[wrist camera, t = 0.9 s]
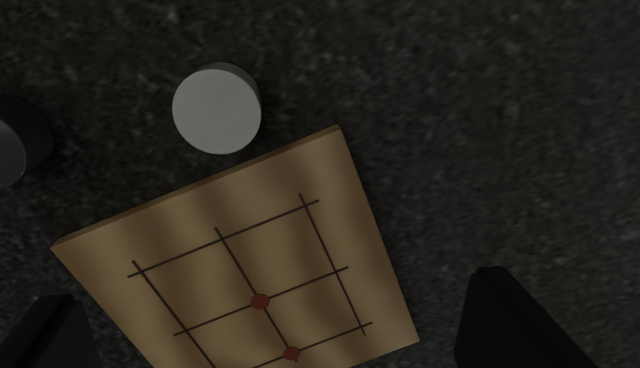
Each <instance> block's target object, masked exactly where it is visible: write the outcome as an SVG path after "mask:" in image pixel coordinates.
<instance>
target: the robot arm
mask: <svg viewBox="0 0 640 368" xmlns="http://www.w3.org/2000/svg"><path fill="white" fill-rule="evenodd" d="M454 358H455V362H456V364H457V366H458V368H598V367H597V366H596V365H595V364H594V363H593V361H592V360H591V359H590V358H589V357H588V356H587V355H586V354H585V353H584V352H583V351H582V350H581V349H580V348H579V346H578V345H577V344H576V343H575V342H574V341H573V340H572V339H571V338H570V337H569V336H568V335H567V334H566V333H565V331H564V330H563V329H562V328H561V327H560V326H559V325H558V324H557V323H556V322H555V321H554V320H553V319H552V318H551V316H550V315H549V314H548V313H547V312H546V311H545V310H544V309H543V308H542V307H541V306H540V305H539V304H538V303H537V301H536V300H535V299H534V298H533V297H532V296H531V295H530V294H529V293H528V292H527V291H526V290H525V289H524V288H523V286H522V285H521V284H520V283H519V282H518V281H517V280H516V279H515V278H514V277H513V276H512V275H511V274H510V273H509V271H508V270H507V269H505V268H504V267H502V266H494V267H481V268H478V269H477V270H476V273H475V274H472V275H471V277H470V280H469V285H468V289H467V293H466V298H465V302H464V307H463V311H462V315H461V320H460V324H459V329H458V333H457V338H456V342H455V346H454ZM0 368H103V367H102V364H101V361H100V357H99V354H98V351H97V348H96V344H95V341H94V338H93V334H92V331H91V328H90V324H89V321H88V318H87V315H86V311H85V308H84V305H83V303H82V301H81V300H75V297H74V296H73V295H71V294H64V295H48V296H42V297H39V298H38V299H37V300H36V301H35V303H34V304H33V305H32V306H31V308H30V309H29V310H28V311H27V313H26V314H25V315H24V316H23V318H22V319H21V320H20V321H19V323H18V324H17V325H16V326H15V327H14V329H13V330H12V331H11V332H10V334H9V335H8V336H7V337H6V339H5V340H4V341H3V342H2V344H1V345H0Z"/></svg>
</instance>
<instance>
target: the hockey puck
mask: <svg viewBox="0 0 640 368" xmlns="http://www.w3.org/2000/svg"><path fill="white" fill-rule="evenodd" d="M53 148H54V135H53V131H52V128H51V126H50V124H49V123H48V121H47V119H46V118H45V117H44V116H43V114H42V113H41V112H40V111H39V110H38V109H36V108H35V107H34V106H33V105H31V104H29V103H28V102H26V101H24V100H22V99H20V98H17V97H14V96H11V95H6V94H0V189H3V188H6V187H9V186H11V185H13V184H14V183H16V182H17V181H19V180H20V179H21V178H23V177H24V176H26V175H27V174H29V173H30V172H32V171H33V170H35V169H36V168H38V167H39V166H41V165H42V164H43V163H45V162H46V161H47V160H48V159H49V157H50V156H51V154H52V152H53Z"/></svg>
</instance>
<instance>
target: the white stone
mask: <svg viewBox="0 0 640 368" xmlns="http://www.w3.org/2000/svg"><path fill="white" fill-rule="evenodd" d="M261 109H262V99H261V94H260V91H259V88H258V86H257V84H256V82H255V81H254V79H253V78H252V77H251V76H250V75H249V74H248V73H247V72H246V71H244V70H243V69H241V68H240V67H238V66H236V65H233V64H230V63H224V62H215V63H209V64H207V65H204V66H202V67H200V68H199V69H197V70H196V71H195V72H193V73H192V74H191V75H190V76H189V77H187V78H186V79H185V80H184V81H183V82H182V83H181V84H180V86H179V87H178V89H177V91H176V93H175V95H174V99H173V105H172V112H173V118H174V121H175V124H176V127H177V129H178V130H179V132H180V133H181V135H182V136H183V137H184V138H185V140H187V141H188V142H189V143H190V144H191V145H193V146H194V147H196V148H198V149H199V150H202V151H204V152H208V153H212V154H228V153H232V152H235V151H238V150H240V149H242V148H243V147H245V146H246V145H247V144H249V143H250V142H251V140H252V139H253V138H254V137H255V135H256V133H257V131H258V129H259V126H260V121H261Z"/></svg>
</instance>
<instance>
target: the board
mask: <svg viewBox="0 0 640 368" xmlns="http://www.w3.org/2000/svg"><path fill="white" fill-rule="evenodd" d="M50 249H51V250H52V251H53V252H54V253H55V255H56V256H57V257H58V258H59V259H60V260H61V261H62V263H63V264H64V265H65V266H66V267H67V268H68V270H69V271H70V272H71V273H72V274H73V275H74V276H75V278H76V279H77V280H78V281H79V282H80V283H81V284H82V286H83V287H84V288H85V289H86V290H87V291H88V292H89V294H90V295H91V296H92V297H93V298H94V299H95V300H96V302H97V303H98V304H99V305H100V306H101V307H102V308H103V310H104V311H105V312H106V313H107V314H108V315H109V316H110V318H111V319H112V320H113V321H114V322H115V323H116V324H117V326H118V327H119V328H120V329H121V330H122V331H123V332H124V334H125V335H126V336H127V337H128V338H129V339H130V340H131V342H132V343H133V344H134V345H135V346H136V347H137V349H138V350H139V351H140V352H141V353H142V354H143V355H144V357H145V358H146V359H147V360H148V361H149V362H150V363H151V365H152V366H153V367H154V368H350V367H352V366H355V365H358V364H360V363H363V362H366V361H368V360H371V359H373V358H376V357H379V356H381V355H384V354H387V353H389V352H392V351H394V350H397V349H400V348H402V347H405V346H408V345H410V344H413V343H415V342H418V341H419V337H418V335H417V332H416V329H415V327H414V324H413V321H412V319H411V316H410V313H409V311H408V308H407V305H406V303H405V300H404V297H403V294H402V292H401V289H400V286H399V284H398V281H397V278H396V276H395V273H394V270H393V268H392V265H391V262H390V259H389V257H388V254H387V251H386V249H385V246H384V243H383V241H382V238H381V235H380V233H379V230H378V227H377V224H376V222H375V219H374V216H373V214H372V211H371V208H370V206H369V203H368V200H367V198H366V195H365V192H364V189H363V187H362V184H361V181H360V179H359V176H358V173H357V171H356V168H355V165H354V163H353V160H352V157H351V155H350V152H349V149H348V146H347V144H346V141H345V138H344V136H343V133H342V130H341V128H340V127H339V125H338V124H336V125H334V126H331V127H329V128H326V129H324V130H322V131H319V132H317V133H314V134H312V135H309V136H307V137H305V138H302V139H300V140H297V141H295V142H292V143H290V144H288V145H285V146H283V147H280V148H278V149H275V150H273V151H270V152H268V153H266V154H263V155H261V156H258V157H256V158H253V159H251V160H249V161H246V162H244V163H241V164H239V165H236V166H234V167H232V168H229V169H227V170H224V171H222V172H219V173H217V174H214V175H212V176H210V177H207V178H205V179H202V180H200V181H197V182H195V183H193V184H190V185H188V186H185V187H183V188H180V189H178V190H176V191H173V192H171V193H168V194H166V195H163V196H161V197H158V198H156V199H154V200H151V201H149V202H146V203H144V204H141V205H139V206H137V207H134V208H132V209H129V210H127V211H124V212H122V213H120V214H117V215H115V216H112V217H110V218H107V219H105V220H102V221H100V222H98V223H95V224H93V225H90V226H88V227H85V228H83V229H81V230H78V231H76V232H73V233H71V234H68V235H66V236H64V237H61V238H59V239H58V240H57V241H56V242H55V243H54V244H53V245H52V247H51V248H50Z"/></svg>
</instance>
